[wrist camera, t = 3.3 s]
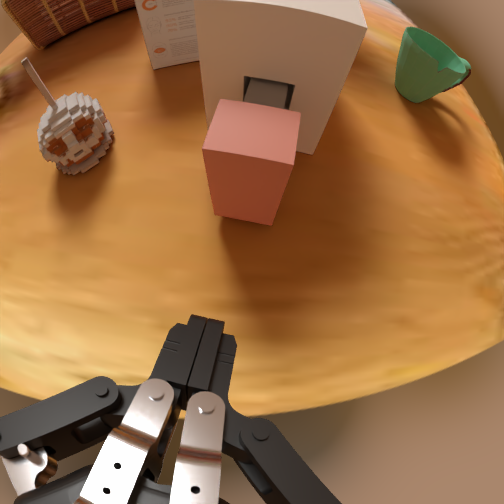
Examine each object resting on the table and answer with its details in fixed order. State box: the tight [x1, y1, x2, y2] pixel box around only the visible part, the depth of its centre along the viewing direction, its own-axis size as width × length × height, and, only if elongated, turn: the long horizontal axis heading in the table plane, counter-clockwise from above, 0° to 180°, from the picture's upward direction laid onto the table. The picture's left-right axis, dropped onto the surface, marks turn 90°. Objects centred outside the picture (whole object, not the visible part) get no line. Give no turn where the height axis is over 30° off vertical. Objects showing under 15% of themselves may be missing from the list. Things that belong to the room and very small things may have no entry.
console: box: [194, 0, 367, 155], centre depth 21 cm, size 11×15×16 cm
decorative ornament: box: [21, 57, 114, 175], centre depth 19 cm, size 8×8×15 cm
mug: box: [395, 27, 471, 103], centre depth 27 cm, size 15×10×10 cm
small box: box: [134, 0, 199, 69], centre depth 24 cm, size 8×6×13 cm
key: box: [202, 77, 301, 226], centre depth 21 cm, size 5×14×10 cm, turn 169°
